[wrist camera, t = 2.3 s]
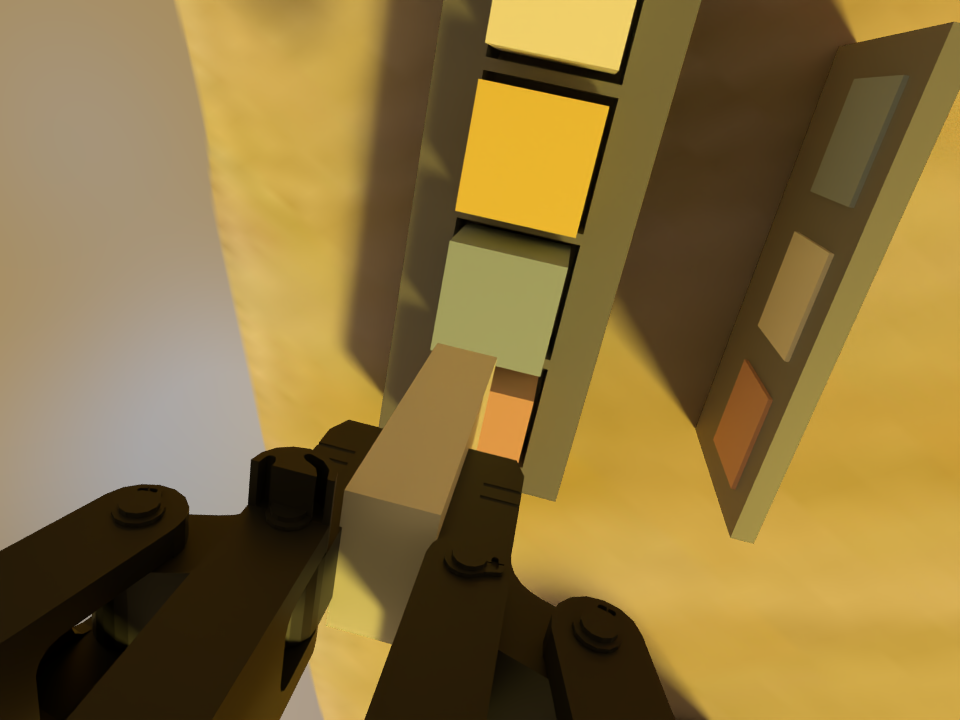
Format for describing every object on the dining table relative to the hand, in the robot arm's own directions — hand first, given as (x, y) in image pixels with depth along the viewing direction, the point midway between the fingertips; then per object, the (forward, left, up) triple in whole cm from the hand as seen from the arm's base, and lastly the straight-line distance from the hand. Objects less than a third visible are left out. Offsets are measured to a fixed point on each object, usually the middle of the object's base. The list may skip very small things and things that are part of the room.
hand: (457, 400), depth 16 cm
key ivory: (-10, 0, -10) cm, 14 cm away
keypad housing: (-3, 0, -13) cm, 14 cm away
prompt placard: (-3, +10, -13) cm, 17 cm away
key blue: (0, 0, -10) cm, 10 cm away
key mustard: (-5, 0, -10) cm, 11 cm away
